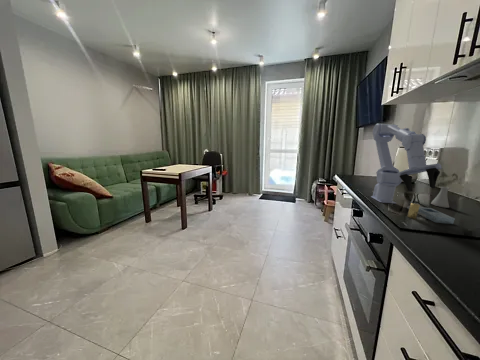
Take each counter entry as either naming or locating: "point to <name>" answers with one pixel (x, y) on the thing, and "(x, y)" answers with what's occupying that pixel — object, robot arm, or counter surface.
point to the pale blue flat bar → (435, 215)
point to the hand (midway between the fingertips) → (420, 189)
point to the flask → (441, 198)
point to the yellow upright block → (413, 210)
